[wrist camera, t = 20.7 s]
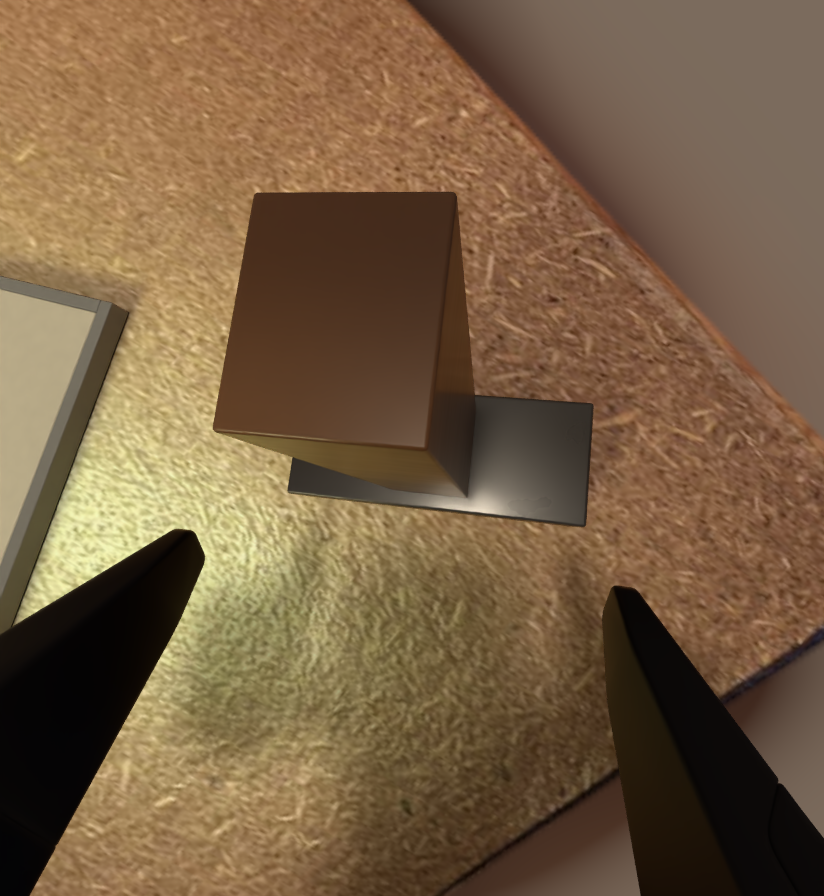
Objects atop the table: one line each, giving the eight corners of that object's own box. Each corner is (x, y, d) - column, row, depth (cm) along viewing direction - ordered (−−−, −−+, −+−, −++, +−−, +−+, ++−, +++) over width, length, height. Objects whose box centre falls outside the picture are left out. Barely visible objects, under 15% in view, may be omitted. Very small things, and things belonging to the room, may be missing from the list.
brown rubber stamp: (572, 526, 17) (839, 546, 4) (312, 496, 18) (-68, 444, 6) (579, 419, 17) (834, 142, 5) (326, 399, 19) (6, 159, 6)
